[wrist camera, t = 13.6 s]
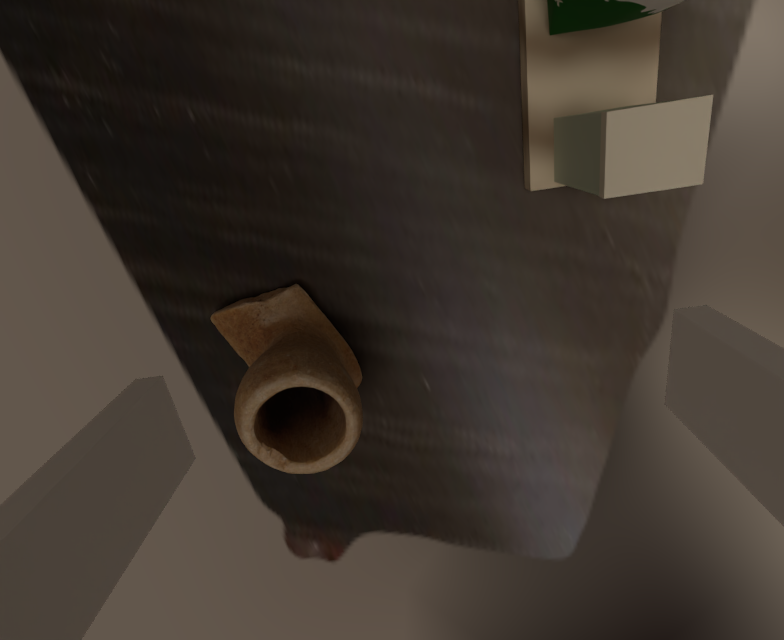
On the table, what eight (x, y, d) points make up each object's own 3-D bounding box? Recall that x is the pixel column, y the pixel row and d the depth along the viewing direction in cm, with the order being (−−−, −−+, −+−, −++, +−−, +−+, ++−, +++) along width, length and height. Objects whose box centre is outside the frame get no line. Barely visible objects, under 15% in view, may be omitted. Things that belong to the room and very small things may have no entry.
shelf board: (513, -129, 32) (527, -162, 28) (658, -159, 31) (691, -196, 27) (524, 188, 40) (536, 193, 37) (638, 171, 39) (662, 175, 36)
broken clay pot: (392, 369, 48) (388, 466, 34) (301, 416, 50) (264, 524, 36) (310, 249, 43) (267, 305, 29) (215, 308, 45) (133, 386, 31)
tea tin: (553, 117, 36) (606, 111, 27) (630, 104, 36) (713, 94, 26) (553, 182, 38) (604, 198, 29) (627, 171, 37) (703, 183, 28)
